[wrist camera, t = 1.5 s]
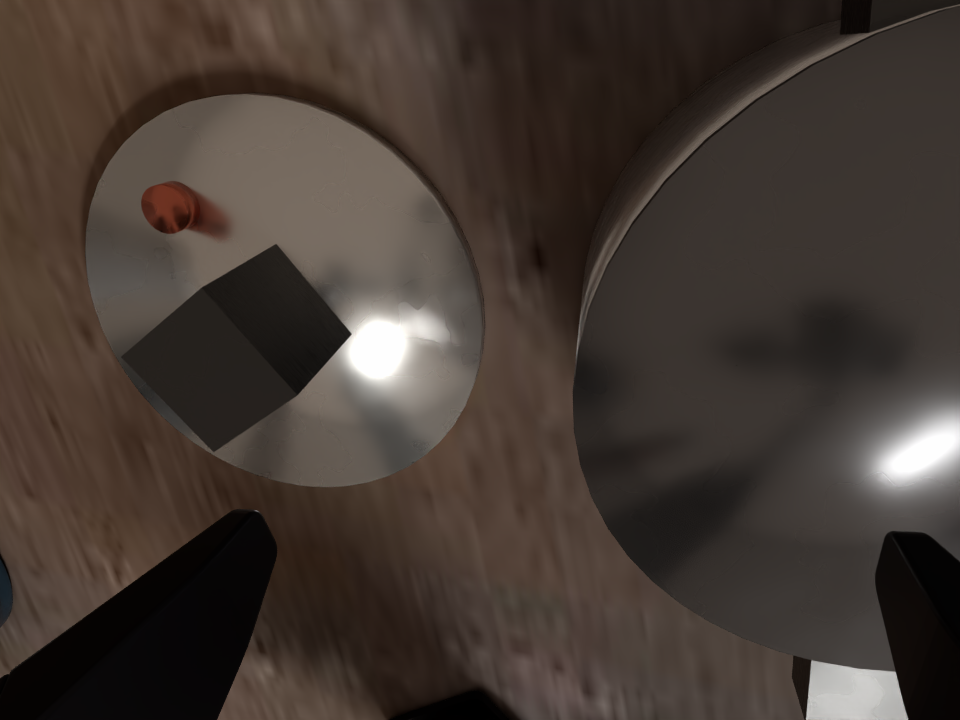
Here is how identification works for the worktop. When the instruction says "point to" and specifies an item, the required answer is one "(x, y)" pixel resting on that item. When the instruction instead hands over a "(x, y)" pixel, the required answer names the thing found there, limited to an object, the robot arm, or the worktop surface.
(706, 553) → the pot
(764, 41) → the worktop surface
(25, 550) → the worktop surface
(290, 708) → the worktop surface
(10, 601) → the canister
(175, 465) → the worktop surface
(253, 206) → the lid
